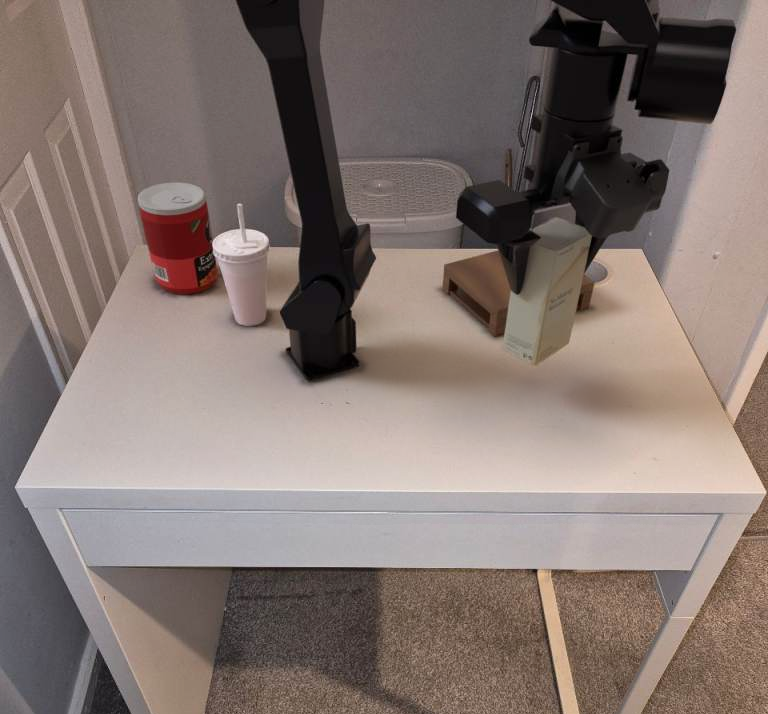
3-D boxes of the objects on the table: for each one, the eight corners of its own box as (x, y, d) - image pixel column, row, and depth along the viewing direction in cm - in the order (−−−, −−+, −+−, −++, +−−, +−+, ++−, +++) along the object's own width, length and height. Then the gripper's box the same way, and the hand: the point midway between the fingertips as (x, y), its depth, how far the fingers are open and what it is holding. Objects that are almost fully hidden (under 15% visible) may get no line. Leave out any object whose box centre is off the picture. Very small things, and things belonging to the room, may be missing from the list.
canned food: (213, 296, 95) (198, 210, 87) (149, 295, 95) (129, 209, 87) (223, 265, 100) (210, 182, 93) (163, 264, 101) (145, 181, 93)
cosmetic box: (535, 368, 75) (557, 253, 66) (499, 350, 77) (516, 236, 69) (571, 342, 78) (596, 229, 70) (535, 326, 81) (556, 214, 72)
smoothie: (254, 338, 89) (239, 222, 79) (212, 321, 91) (192, 207, 81) (287, 313, 93) (277, 199, 82) (246, 298, 95) (231, 185, 85)
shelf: (494, 336, 89) (498, 310, 87) (442, 289, 97) (444, 264, 94) (589, 307, 94) (594, 282, 92) (532, 265, 101) (536, 240, 99)
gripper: (542, 165, 54) (512, 352, 65) (737, 125, 60) (679, 302, 71) (460, 114, 60) (446, 291, 72) (643, 82, 67) (603, 250, 78)
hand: (546, 284), depth 73 cm, fingers closed on cosmetic box, 7 cm apart
